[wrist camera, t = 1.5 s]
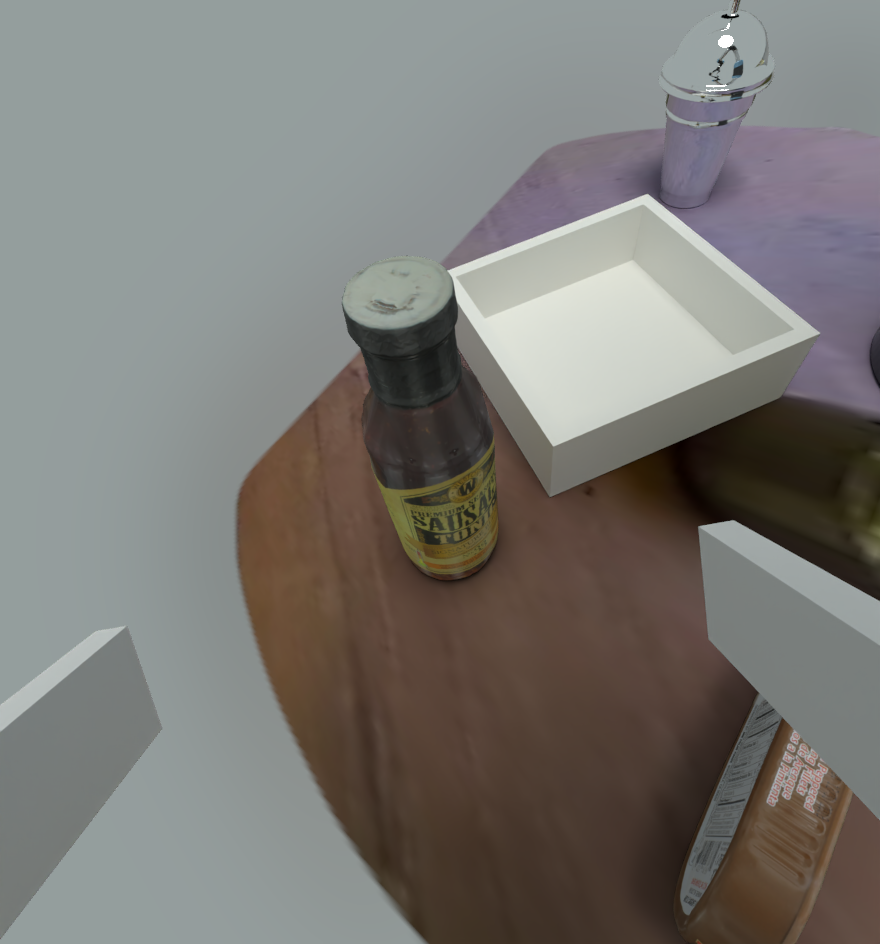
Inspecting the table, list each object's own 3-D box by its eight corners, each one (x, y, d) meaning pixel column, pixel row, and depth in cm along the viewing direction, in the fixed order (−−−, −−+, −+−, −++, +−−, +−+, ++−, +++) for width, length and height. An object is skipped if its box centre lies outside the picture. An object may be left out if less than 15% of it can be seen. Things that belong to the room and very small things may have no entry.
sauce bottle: (439, 604, 32) (343, 397, 16) (389, 531, 36) (265, 295, 19) (523, 545, 34) (517, 295, 17) (467, 480, 37) (417, 216, 20)
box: (634, 259, 46) (647, 193, 41) (780, 397, 37) (820, 333, 32) (448, 333, 45) (438, 274, 40) (549, 497, 35) (553, 446, 30)
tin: (713, 966, 22) (797, 1042, 15) (642, 907, 24) (690, 952, 17) (832, 667, 28) (936, 620, 20) (769, 632, 29) (846, 577, 22)
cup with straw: (700, 232, 47) (794, -82, 30) (615, 200, 51) (656, -90, 35) (751, 185, 50) (864, -129, 33) (666, 159, 54) (728, -131, 37)
